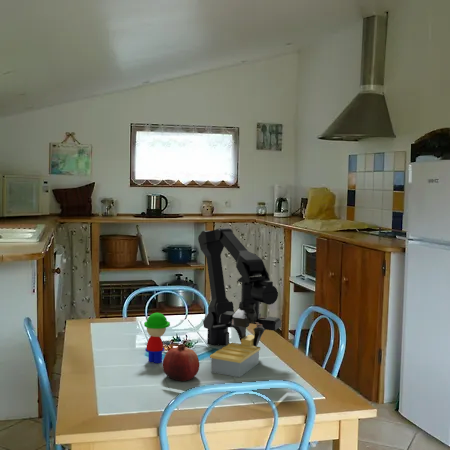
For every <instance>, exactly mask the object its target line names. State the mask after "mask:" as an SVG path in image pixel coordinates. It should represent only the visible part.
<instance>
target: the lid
mask: <svg viewBox="0 0 450 450" xmlns="http://www.w3.org/2000/svg"><path fill="white" fill-rule="evenodd" d="M229 343H230V342H229ZM221 347H222V348H220V349H218V350H216V351H215V352H213V353H212V354H210V355H209V357H210V359H212V358H214V359H220V360H225V361H231V362H237V363H241V362H243V361H244V360H246V359H247V358H249V357H250V356H252V355H253V354H255V353H256V352H258V351H259V352H260V351H261V346H257V347H256V346H254V335H253V334H248V335H246V337H244V338H242V339H241V341H240V343H236V342H231V343H230V344H228V345H226V346H221Z"/></svg>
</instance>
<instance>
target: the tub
mask: <svg viewBox="0 0 450 450" xmlns="http://www.w3.org/2000/svg"><path fill="white" fill-rule="evenodd" d="M259 359H260V350H259V351H258V352H256V353H255V354H253V355H252V356H250V357H249V358H247V359H246V360H244V361H243V362H241V363H237V362H231V361H225V360H220V359H214V358H211V359H210V360H211V361H210V362H211V363H210V364H211V367H210V372H211V373H214V374H220V375H224V376H231V377H235V378H241V377H243V376H244V375H245V374H247V373H248V372H249V371H251V370H252V369H253V368H254V367H256V366H257V365H259V362H260V360H259Z"/></svg>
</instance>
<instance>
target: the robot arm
mask: <svg viewBox="0 0 450 450" xmlns="http://www.w3.org/2000/svg"><path fill="white" fill-rule="evenodd" d="M197 240H198V244H199V247H200V251H201V252H202V254H203V255H204V256H205V258H206V266H207V273H208V281H209V287H210V296H211V300H210V303H209V305H208V307H207V312H208V314H207V315H206V316H205V318H204V319H203V321H202V322H203V328H205V329H207V341H206V342H207V343H206V345H207V344H208V345H211V346H221V347H225V346H227V345H228V344H230V332H229V328H233V329H235V332H236V333H237V335H238V338H239V341H240V342H241V339H242V338H244V337H246V336H247V328H248V327H249V326H250V324H251V325H252V324H253V325H256V327H255V328H253V332H254V346H256V347H258V345H259V343H260V341H261V338H262V335H263V334H264V332H265V331H266V330H267V331H276V330H278V329H279V328H281V327H282V320H281V318H280V317H275V316H267V317H266V318H261V317H262V316H261V315H262V313H260V305H261V304H265V305H269V306H270V305H273V304H275V303H276V301H277V299H278V297H279V292H278V290H277V287H276V286H274V285H273V284H274V282H273V281H271V280H270V275H269V272H268V270H267V268H266V265H265V263H264V261H263V259H262V258H261V257H260V256H259V255H257V254H255V253H252V252H250V251H249V250H248V249H247V248H246V247H245V245H244V244H243V243H242V242H241V241H240V240H239V238H237V236H236V235H235V234H234V232H233V230H232V228H230V227H218V228H216V229H214V230H202V231H201V232H200V234H199V235H198V238H197ZM224 249H226V251H228V253H229V254H230V256H231V257H232V259H234V261H235V263H236V264H235V268H236V269H237V272H238V273H239V275H240V276H241V277H239V278H238V280H237V281H238V282H239V283H241V291H240V292H241V298H240V302H239V304H238V309H236V310H235V309H234V302H233V301H230V300H229V299H228V297H227V294H226V292H227V291H226V286H225V278H224V277H225V276H224V271H223V263H222V255H221V254H222V253H223V250H224ZM234 310H235V311H234Z"/></svg>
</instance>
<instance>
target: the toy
mask: <svg viewBox="0 0 450 450" xmlns="http://www.w3.org/2000/svg"><path fill="white" fill-rule="evenodd" d="M143 326H144V327H145V328H146V332H147V333H148V335H149V336H150V337H149V338H148V340H147V342H146V348H145V350H144V351H145V352H147V353H148V358H147V359H148V362H149V363H154V364H163V352H164V351H165V348H164V344H163V341H162V338H161V337H162V336H163V335H165V333H166V330H167V328H170V326H171V322H170V321H169V320H167V317H166V316H165V315H164V314H163V313H161V312H154V313H151V314H150V315H149V316H148V317H147V319H146V321H145V322H144V324H143Z"/></svg>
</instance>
